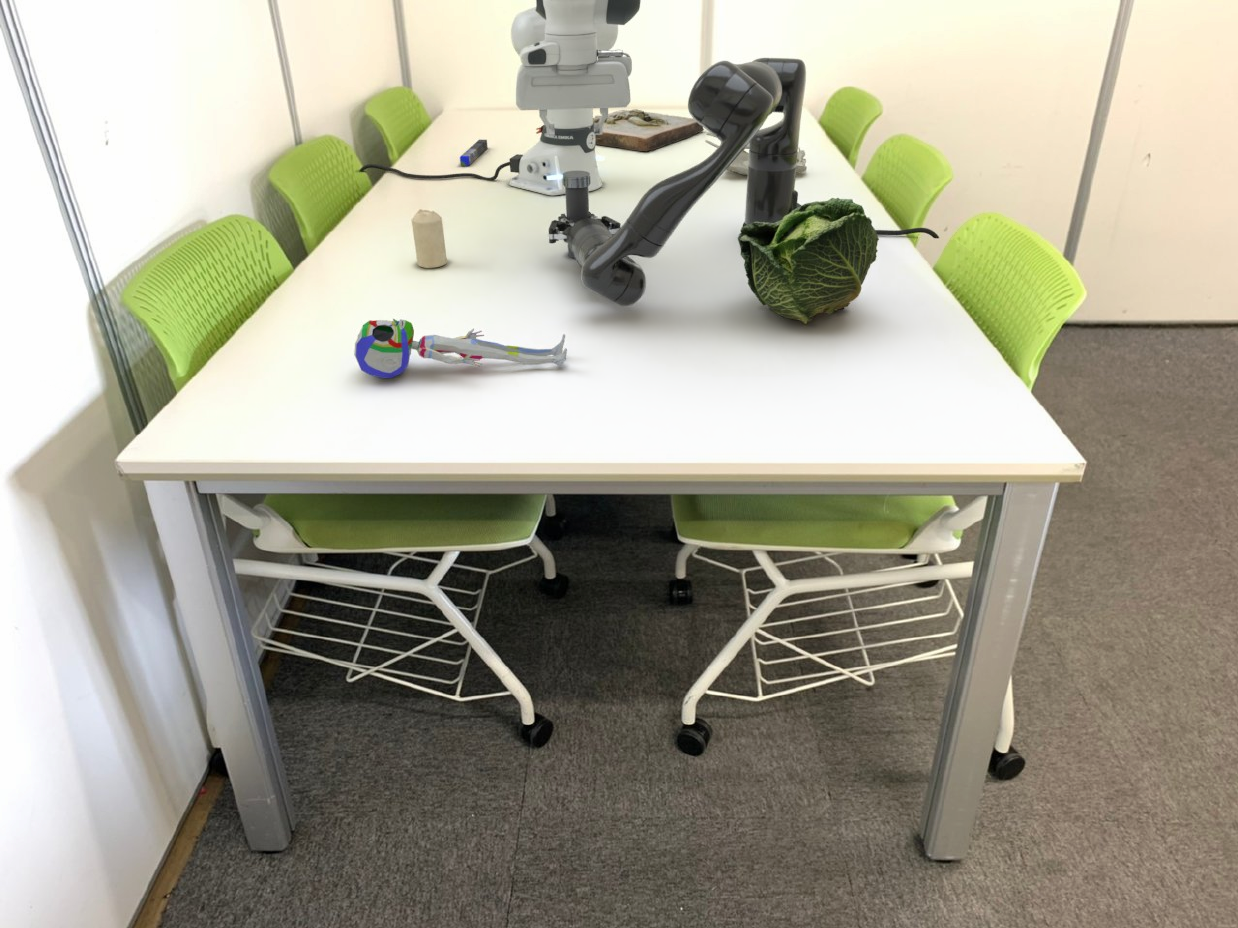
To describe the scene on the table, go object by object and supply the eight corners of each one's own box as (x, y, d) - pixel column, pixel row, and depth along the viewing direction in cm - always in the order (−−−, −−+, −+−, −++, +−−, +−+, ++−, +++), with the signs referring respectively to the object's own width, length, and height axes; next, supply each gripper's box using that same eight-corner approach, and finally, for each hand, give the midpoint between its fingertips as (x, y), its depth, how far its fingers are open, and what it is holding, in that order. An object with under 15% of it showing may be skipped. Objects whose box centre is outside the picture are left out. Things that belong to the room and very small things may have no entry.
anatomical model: (707, 129, 226) (808, 127, 222) (707, 166, 231) (805, 165, 227) (703, 143, 213) (809, 141, 210) (703, 182, 218) (807, 181, 215)
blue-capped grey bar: (486, 139, 247) (467, 157, 231) (487, 147, 249) (468, 166, 232) (479, 139, 248) (459, 157, 231) (479, 147, 249) (460, 166, 232)
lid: (590, 180, 168) (589, 170, 167) (590, 188, 164) (590, 177, 163) (562, 181, 168) (562, 170, 167) (562, 189, 164) (562, 178, 163)
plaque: (647, 125, 237) (559, 112, 252) (647, 153, 241) (560, 139, 256) (706, 107, 258) (622, 97, 273) (705, 133, 262) (622, 121, 277)
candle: (452, 259, 172) (446, 207, 166) (438, 269, 167) (431, 216, 162) (426, 257, 173) (419, 205, 168) (412, 266, 169) (404, 213, 163)
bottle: (590, 251, 175) (587, 173, 167) (590, 258, 172) (588, 179, 164) (568, 252, 175) (564, 173, 167) (568, 259, 171) (564, 180, 163)
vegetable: (766, 338, 156) (713, 238, 148) (856, 276, 157) (807, 174, 149) (821, 359, 137) (763, 246, 129) (922, 289, 138) (870, 173, 131)
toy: (569, 347, 126) (349, 329, 122) (563, 400, 131) (350, 385, 126) (565, 318, 135) (359, 301, 130) (559, 369, 139) (360, 354, 134)
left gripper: (630, 47, 157) (630, 129, 164) (513, 49, 156) (518, 132, 163) (633, 52, 152) (633, 137, 159) (512, 55, 151) (518, 140, 158)
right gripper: (632, 221, 157) (611, 195, 171) (552, 228, 155) (537, 201, 169) (632, 262, 161) (611, 233, 175) (554, 270, 159) (539, 240, 173)
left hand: (574, 134), depth 161 cm, fingers open, 7 cm apart
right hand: (575, 218), depth 172 cm, fingers closed on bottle, 4 cm apart
